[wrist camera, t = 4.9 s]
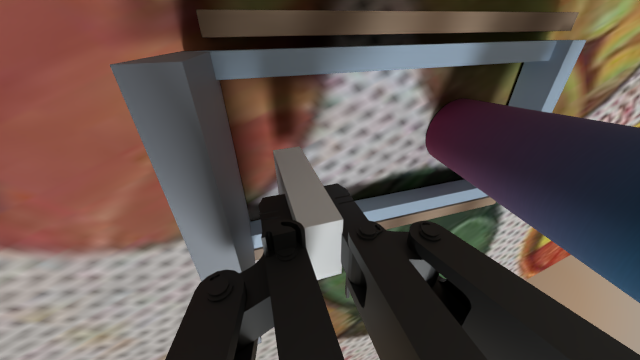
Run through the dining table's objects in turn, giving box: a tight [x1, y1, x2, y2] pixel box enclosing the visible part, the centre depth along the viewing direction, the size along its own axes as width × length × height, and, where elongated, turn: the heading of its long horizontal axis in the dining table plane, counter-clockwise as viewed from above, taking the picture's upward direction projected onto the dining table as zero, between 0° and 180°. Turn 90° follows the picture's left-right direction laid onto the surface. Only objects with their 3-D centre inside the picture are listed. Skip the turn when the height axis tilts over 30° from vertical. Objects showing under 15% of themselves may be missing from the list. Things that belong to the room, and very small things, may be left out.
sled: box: [110, 40, 586, 344], centre depth 14 cm, size 24×12×8 cm, turn 91°
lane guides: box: [196, 10, 579, 260], centre depth 14 cm, size 23×30×2 cm
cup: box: [426, 99, 640, 303], centre depth 13 cm, size 7×7×15 cm
